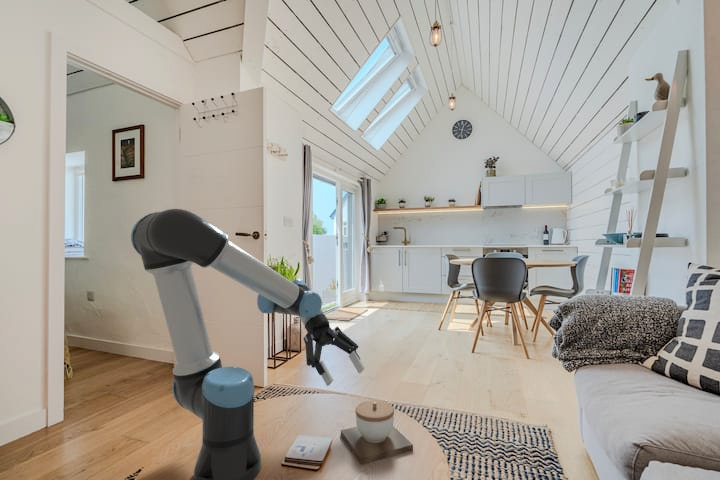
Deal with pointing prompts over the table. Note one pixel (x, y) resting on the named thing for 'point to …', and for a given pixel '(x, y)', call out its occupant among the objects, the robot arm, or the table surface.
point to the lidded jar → (374, 420)
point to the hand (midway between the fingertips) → (347, 377)
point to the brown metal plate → (375, 445)
